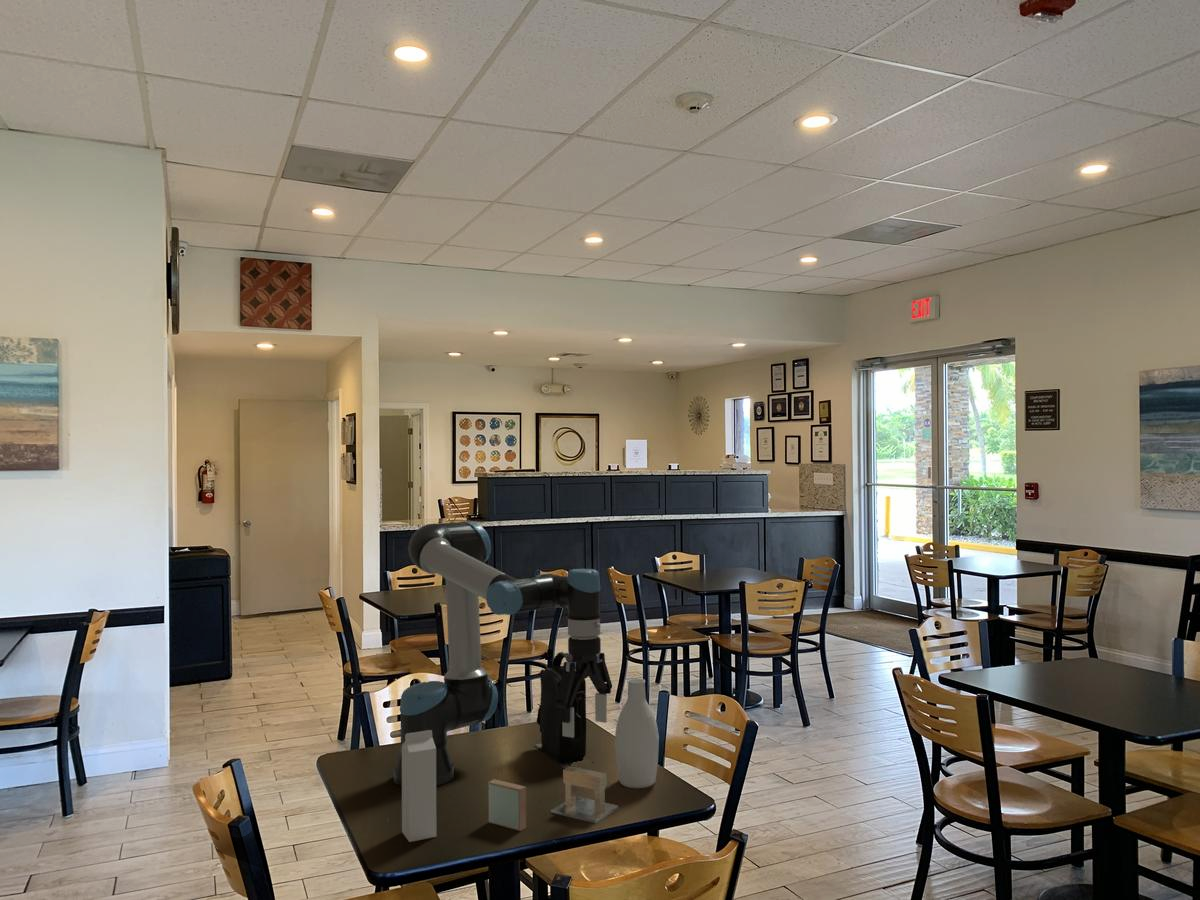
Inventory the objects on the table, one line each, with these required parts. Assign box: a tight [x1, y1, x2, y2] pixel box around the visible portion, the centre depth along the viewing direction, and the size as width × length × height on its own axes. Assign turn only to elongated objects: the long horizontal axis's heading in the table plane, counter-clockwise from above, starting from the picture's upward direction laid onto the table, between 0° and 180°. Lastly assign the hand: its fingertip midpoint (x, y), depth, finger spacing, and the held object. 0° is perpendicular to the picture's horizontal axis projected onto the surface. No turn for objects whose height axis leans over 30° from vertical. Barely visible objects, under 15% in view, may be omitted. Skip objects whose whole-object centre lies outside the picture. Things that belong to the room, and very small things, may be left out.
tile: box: [487, 778, 527, 832], centre depth 193 cm, size 9×2×9 cm, turn 57°
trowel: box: [550, 766, 620, 824], centre depth 201 cm, size 12×10×9 cm
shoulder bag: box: [535, 651, 587, 769], centre depth 241 cm, size 23×9×28 cm, turn 25°
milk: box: [401, 730, 437, 843], centre depth 189 cm, size 6×6×22 cm
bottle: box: [614, 678, 660, 789], centre depth 219 cm, size 11×11×25 cm
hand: (585, 728), depth 202 cm, fingers open, 13 cm apart
